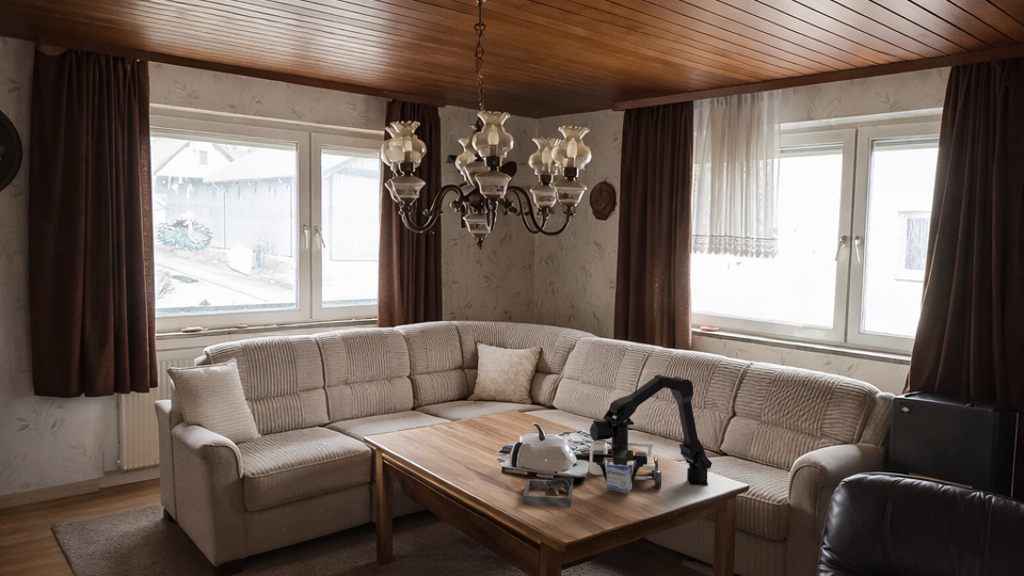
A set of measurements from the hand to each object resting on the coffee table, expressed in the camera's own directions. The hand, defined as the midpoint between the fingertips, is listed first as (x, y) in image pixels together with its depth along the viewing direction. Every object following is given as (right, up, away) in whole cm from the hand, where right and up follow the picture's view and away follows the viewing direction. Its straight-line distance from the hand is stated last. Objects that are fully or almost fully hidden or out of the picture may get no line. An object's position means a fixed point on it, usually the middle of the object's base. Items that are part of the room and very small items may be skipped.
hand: (619, 481), depth 248 cm
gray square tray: (-25, -4, -4) cm, 26 cm away
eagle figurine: (-22, -4, -2) cm, 22 cm away
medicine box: (0, -3, 0) cm, 3 cm away
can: (-5, -3, +21) cm, 21 cm away
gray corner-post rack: (+9, -3, +14) cm, 17 cm away
